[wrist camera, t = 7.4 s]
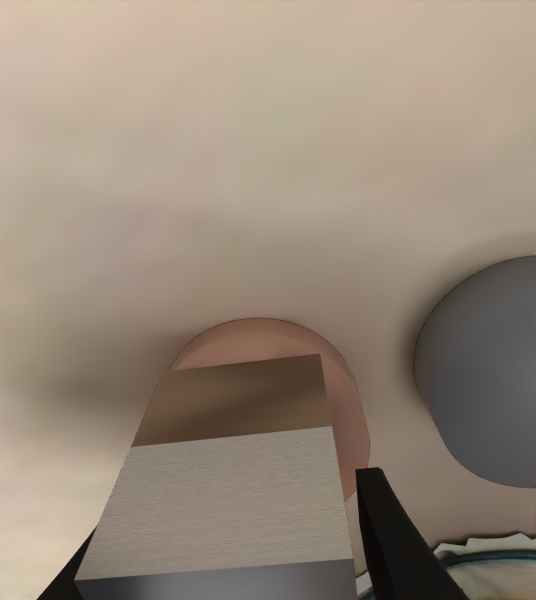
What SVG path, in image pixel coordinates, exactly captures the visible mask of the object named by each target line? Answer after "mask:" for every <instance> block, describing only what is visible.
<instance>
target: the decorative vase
mask: <svg viewBox="0 0 536 600" xmlns="http://www.w3.org/2000/svg"><path fill="white" fill-rule="evenodd" d="M433 553H434V554H435V556H436V557H437V558H438V560H439V561H440V562H441V564H442V565H443V566H444V568H445V569H446V570H447V572H448V573H449V574H450V576H451V577H452V578H453V579H454V581H455V582H456V583H457V584H458V586H459V587H460V588H461V589H462V590H463V592H464V593H465V594H466V595H467V597H468V598H469V599H470V600H536V539H533V540H531V539H530V538H528V537H527V536H525V535H523V534H522V533H519V534H516V535H513V536H510V537H507V538H500V539H475V538H469V539H468V542H467V544H466V546H460V545H453V544H445V543H441V544H440V545H439V546H438V548H437V549H436V550H435V551H434V552H433ZM356 586H357V596H358V600H376V599H375V595H374V591H373V587H372V583H371V580H370V576H369V572H367V573H366V574H364V575H362V576H360V577H358V578H356Z"/></svg>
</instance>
